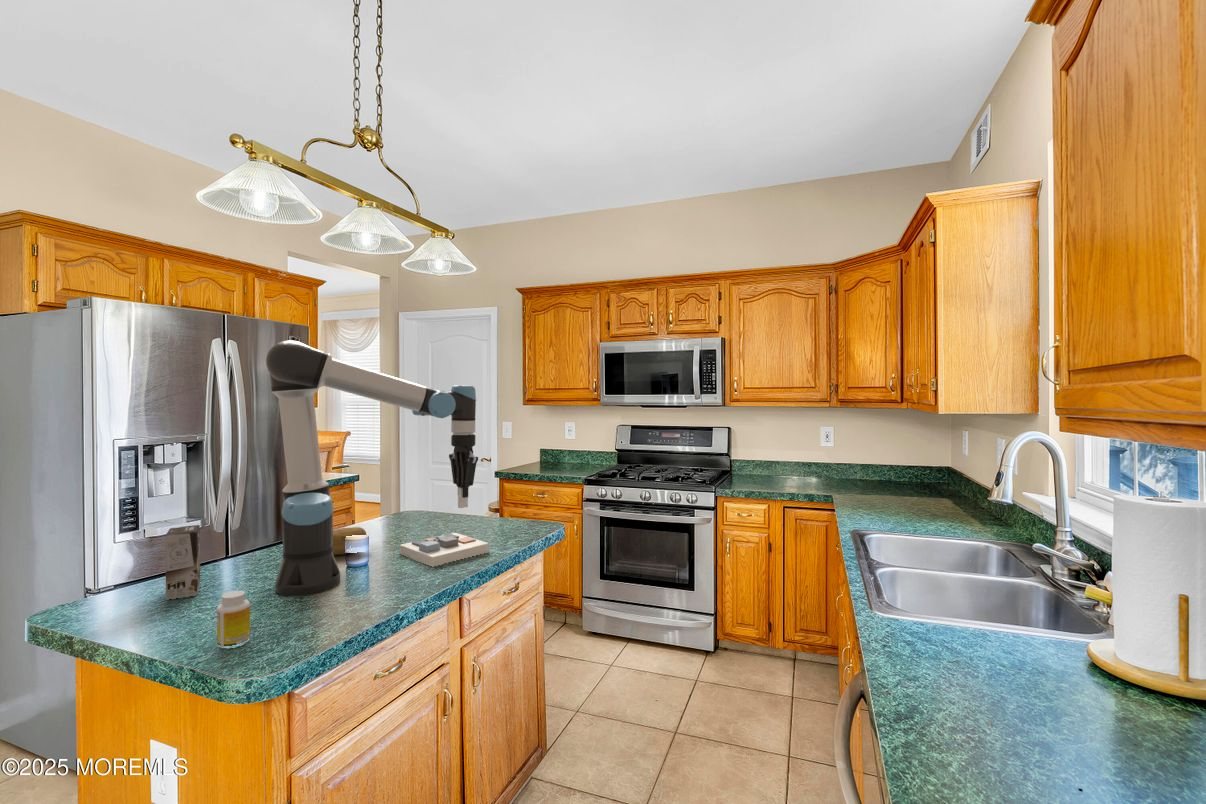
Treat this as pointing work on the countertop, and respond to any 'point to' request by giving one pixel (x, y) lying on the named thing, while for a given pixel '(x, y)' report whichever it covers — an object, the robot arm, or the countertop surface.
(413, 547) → the keypad
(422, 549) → the key slate
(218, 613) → the supplement bottle
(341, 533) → the potato
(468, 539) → the key terracotta
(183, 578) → the coffee box
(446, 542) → the key charcoal
